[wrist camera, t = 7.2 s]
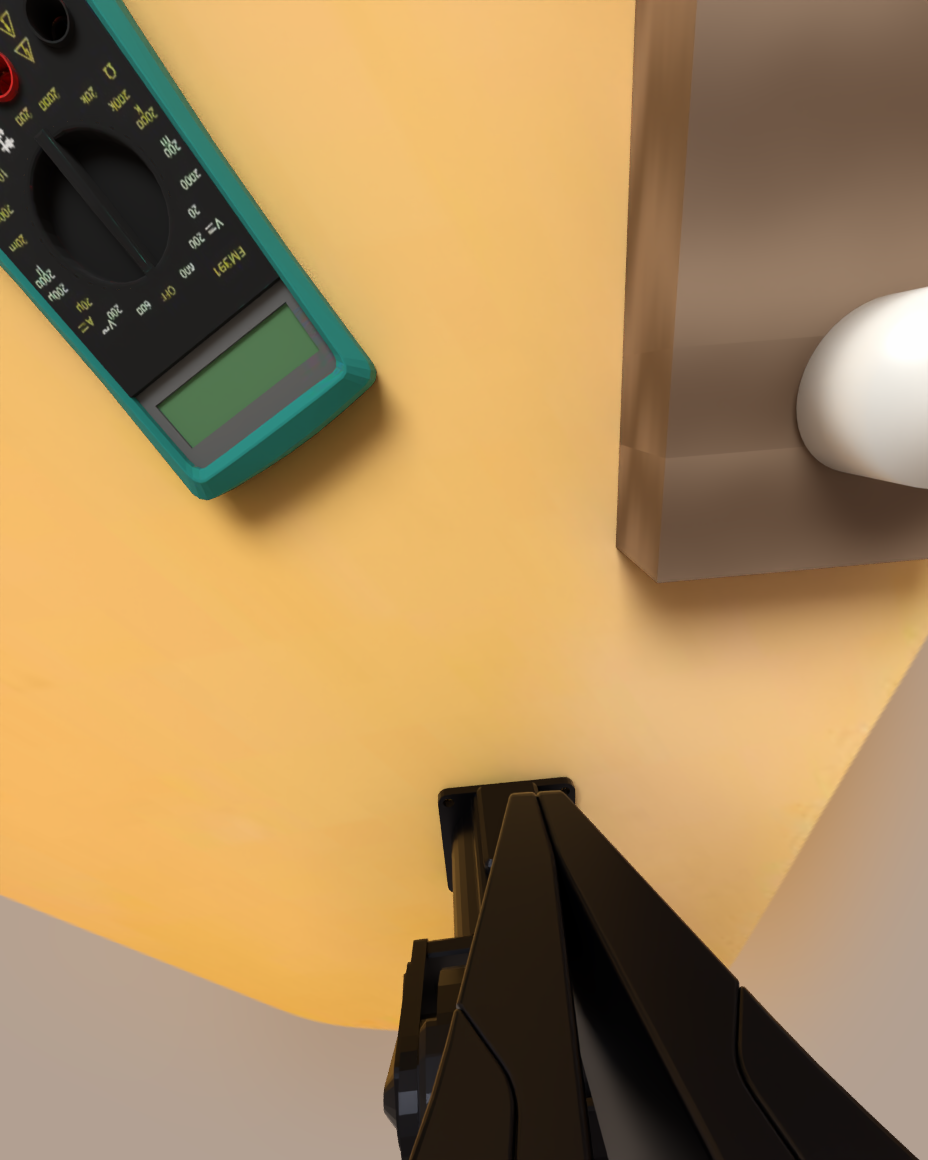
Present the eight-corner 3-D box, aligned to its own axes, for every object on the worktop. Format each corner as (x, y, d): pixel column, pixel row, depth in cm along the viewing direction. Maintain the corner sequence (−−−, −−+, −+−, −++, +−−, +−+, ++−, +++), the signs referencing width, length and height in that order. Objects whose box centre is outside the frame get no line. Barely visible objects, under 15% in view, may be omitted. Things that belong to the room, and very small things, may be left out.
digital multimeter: (44, -125, 13) (-59, -261, 10) (387, 382, 18) (379, 380, 15) (-136, 70, 14) (-272, -6, 12) (232, 497, 19) (198, 515, 16)
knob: (838, 450, 19) (1030, 480, 13) (714, 461, 19) (847, 496, 13) (865, 308, 17) (1102, 265, 11) (728, 318, 17) (891, 281, 11)
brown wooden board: (908, 521, 20) (1014, 551, 17) (616, 546, 20) (657, 583, 16) (1159, -478, 12) (1498, -883, 8) (652, -457, 11) (756, -862, 8)
